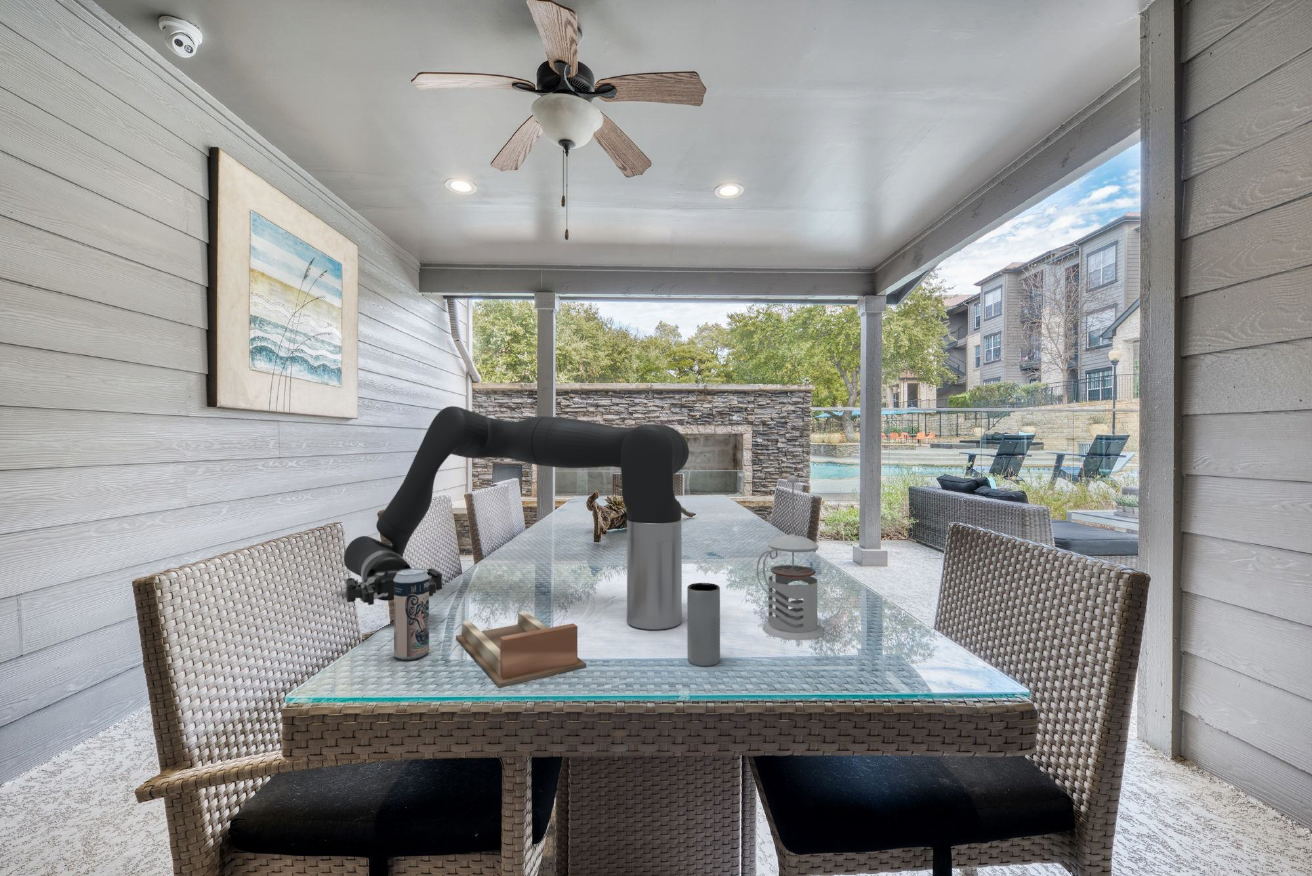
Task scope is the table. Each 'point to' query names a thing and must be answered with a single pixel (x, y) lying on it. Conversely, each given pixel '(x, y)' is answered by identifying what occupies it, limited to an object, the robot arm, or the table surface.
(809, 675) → the table surface
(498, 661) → the keeper track
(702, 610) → the gray cylindrical tube
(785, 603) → the french press
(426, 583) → the beer can
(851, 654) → the table surface
